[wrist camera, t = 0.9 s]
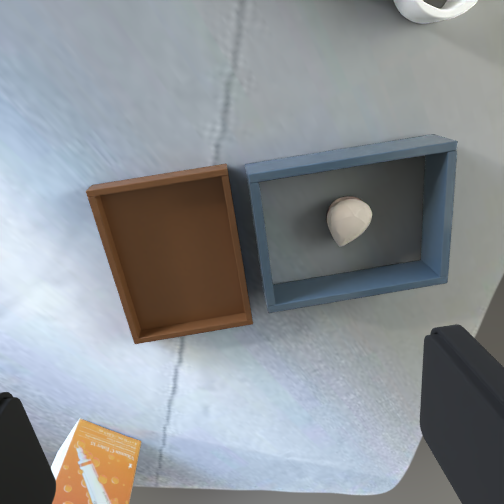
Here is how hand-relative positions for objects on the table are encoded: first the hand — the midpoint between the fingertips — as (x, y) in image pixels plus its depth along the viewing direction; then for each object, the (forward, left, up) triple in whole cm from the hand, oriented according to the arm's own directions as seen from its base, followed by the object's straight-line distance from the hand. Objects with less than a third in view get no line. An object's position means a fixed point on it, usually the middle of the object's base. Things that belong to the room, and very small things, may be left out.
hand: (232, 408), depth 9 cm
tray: (+9, -5, -30) cm, 31 cm away
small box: (+32, -20, -30) cm, 48 cm away
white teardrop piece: (+8, +11, -30) cm, 33 cm away
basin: (+8, +11, -30) cm, 33 cm away
